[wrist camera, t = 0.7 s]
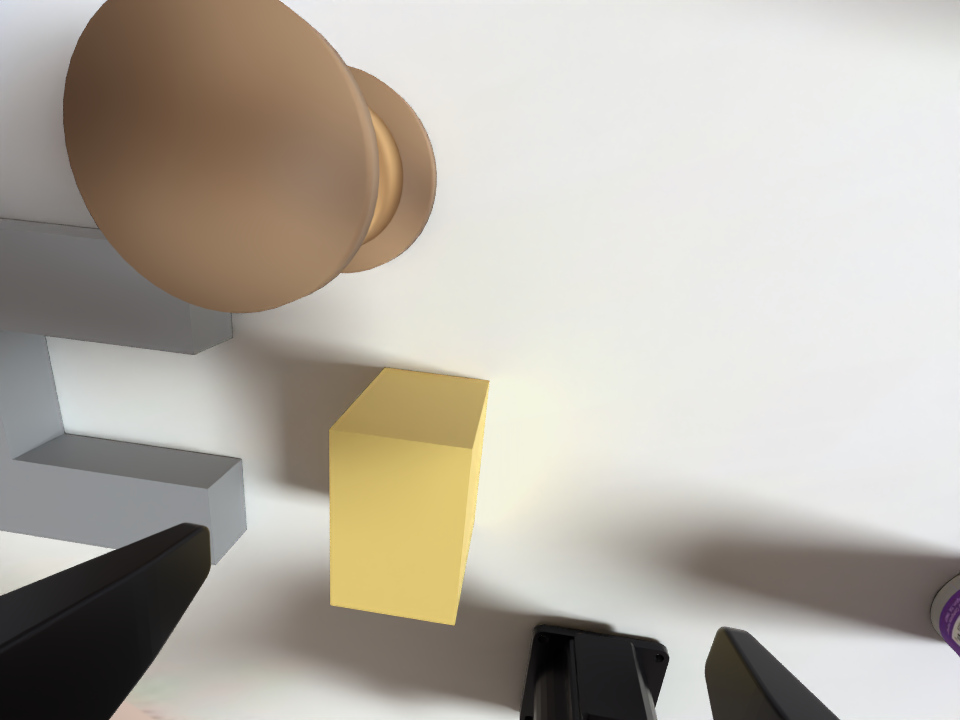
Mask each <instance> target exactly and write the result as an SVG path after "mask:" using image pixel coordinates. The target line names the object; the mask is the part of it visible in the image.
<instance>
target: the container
mask: <svg viewBox="0 0 960 720" xmlns="http://www.w3.org/2000/svg"><path fill="white" fill-rule="evenodd" d="M931 621H932V624H933V626H934V628H935V630H936V631H937V632H938V633H939V635H940V636H941V637H942V638H943V639H944V640H945V641H946V642H947V644H948V645H949V646H950V647H951V648H952V649H953V650H954V651H955V652H956V653H957V654H958V655H959V656H960V575H958V576H956V577H955V578H953V579H952V580H951V581H949V582H948V583H947V584H946V585H945V586H944V587H943V588H942V589H941V590H940V591H939V592H938V594H937V595H936V597H935V599H934V601H933V604H932V607H931Z"/></svg>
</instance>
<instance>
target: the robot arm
mask: <svg viewBox="0 0 960 720" xmlns="http://www.w3.org/2000/svg"><path fill="white" fill-rule="evenodd" d="M210 567H211V546H210V531H209V529H208V527H206V526H204V525H200V524H194V523H189V522H185V523H181V524H178V525H176V526H173V527H171V528H168V529H166V530H163V531H161V532H158V533H156V534H153V535H151V536H148V537H146V538H143V539H141V540H139V541H136V542H134V543H131V544H129V545H126V546H124V547H121V548H119V549H116V550H114V551H111V552H109V553H106V554H104V555H101V556H99V557H96V558H94V559H91V560H89V561H86V562H84V563H81V564H79V565H76V566H74V567H71V568H69V569H66V570H64V571H61V572H59V573H56V574H54V575H52V576H49V577H47V578H44V579H42V580H39V581H37V582H34V583H32V584H29V585H27V586H24V587H22V588H19V589H17V590H14V591H12V592H9V593H7V594H4V595H2V596H0V720H109V719H110V718H111V716H112V715H113V714H114V713H115V711H116V710H117V709H118V707H119V706H120V705H121V704H122V702H123V701H124V700H125V698H126V697H127V696H128V694H129V693H130V692H131V690H132V689H133V688H134V686H135V685H136V684H137V683H138V681H139V680H140V679H141V677H142V676H143V675H144V673H145V672H146V670H147V669H148V668H149V666H150V665H151V664H152V662H153V661H154V659H155V658H156V656H157V655H158V653H159V652H160V650H161V649H162V647H163V646H164V644H165V643H166V641H167V640H168V638H169V636H170V635H171V633H172V632H173V630H174V628H175V627H176V625H177V624H178V622H179V621H180V619H181V617H182V616H183V614H184V613H185V611H186V610H187V608H188V606H189V605H190V603H191V602H192V600H193V598H194V597H195V595H196V594H197V592H198V591H199V589H200V587H201V586H202V584H203V583H204V581H205V579H206V578H207V576H208V574H209V571H210ZM542 635H545V636H542ZM657 654H659V655H657ZM668 662H669V655H668V651H667V649H666V647H665V646H664V645H662V644H659V643H654V642H648V641H642V640H635V639H629V638H623V637H617V636H611V635H605V634H599V633H592V632H586V631H580V630H574V629H568V628H562V627H556V626H549V625H538V626H536V627H535V628H534V630H533V636H532V641H531V647H530V653H529V659H528V665H527V671H526V677H525V683H524V689H523V694H522V700H521V706H520V720H657V715H656V711H655V706H656V703H657V700H658V696H659V693H660V690H661V686H662V683H663V679H664V676H665V673H666V669H667V666H668ZM705 679H706V684H707V689H708V694H709V699H710V705H711V710H712V715H713V720H840V719H839V718H838V717H837V716H836V715H835V714H833V713H832V712H831V711H830V710H829V709H828V708H827V707H826V706H825V705H824V704H823V703H822V702H821V701H820V700H819V699H818V698H817V697H816V696H815V695H814V694H813V693H811V692H810V691H809V690H808V689H807V688H806V687H805V686H804V685H803V684H802V683H801V682H800V681H799V680H798V679H797V678H796V677H795V676H794V675H793V674H792V673H791V672H790V671H788V670H787V669H786V668H785V667H784V666H783V665H782V664H781V663H780V662H779V661H778V660H777V659H776V658H775V657H774V656H773V655H772V654H771V653H770V652H769V651H768V650H767V649H765V648H764V647H763V646H762V645H761V644H760V643H759V642H758V641H757V640H756V639H755V638H754V637H753V636H752V635H751V634H749V633H748V632H747V631H744V630H740V629H735V628H730V627H721V628H719V629H718V631H717V633H716V635H715V638H714V641H713V644H712V646H711V649H710V652H709V655H708V658H707V660H706V664H705Z"/></svg>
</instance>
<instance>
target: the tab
mask: <svg viewBox="0 0 960 720" xmlns="http://www.w3.org/2000/svg"><path fill="white" fill-rule="evenodd" d="M488 390H489V381H488V380H480V379H472V378H464V377H456V376H448V375H440V374H433V373H425V372H417V371H409V370H401V369H393V368H386V367H385V368H384V369H383V370H382V371H381V372H380V374H379V375H378V376H377V377H376V378H375V379H374V380H373V381H372V382H371V384H370V385H369V386H368V387H367V388H366V389H365V390H364V391H363V392H362V394H361V395H360V396H359V397H358V398H357V399H356V400H355V401H354V402H353V404H352V405H351V406H350V407H349V408H348V409H347V410H346V411H345V412H344V414H343V415H342V416H341V417H340V418H339V419H338V420H337V421H336V422H335V424H334V425H333V426H332V427H331V428H330V429H329V478H330V605H332V606H338V607H344V608H351V609H357V610H363V611H369V612H375V613H381V614H387V615H393V616H399V617H405V618H411V619H418V620H424V621H430V622H436V623H442V624H448V625H454V626H455V621H456V616H457V610H458V605H459V600H460V594H461V589H462V584H463V578H464V573H465V568H466V562H467V557H468V552H469V546H470V541H471V536H472V530H473V525H474V519H475V510H476V501H477V492H478V482H479V473H480V464H481V455H482V445H483V436H484V427H485V418H486V408H487V399H488Z"/></svg>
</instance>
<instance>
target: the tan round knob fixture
mask: <svg viewBox="0 0 960 720" xmlns="http://www.w3.org/2000/svg"><path fill="white" fill-rule="evenodd" d="M63 124H64V133H65V142H66V148H67V152H68V157H69V161H70V166H71V169H72V172H73V175H74V178H75V181H76V184H77V187H78V189H79V191H80V193H81V196H82V198H83V200H84V202H85V205H86V207H87V209H88V210H89V212H90V214H91V216H92V217H93V219H94V221H95V223H96V224H97V226H98V227H99V229H100V230H101V232H102V233H103V234H104V236H105V237H106V239H107V240H108V241H109V243H110V244H111V245H112V246H113V248H114V249H115V250H116V251H117V252H118V253H119V254H120V256H121V257H122V258H123V259H124V260H125V261H126V262H127V263H128V264H129V265H130V266H132V267H133V268H134V269H135V270H136V271H137V272H138V273H139V274H140V275H142V276H143V277H144V278H146V279H147V280H148V281H150V282H151V283H152V284H154V285H155V286H157V287H158V288H160V289H162V290H163V291H165V292H167V293H168V294H170V295H172V296H174V297H176V298H178V299H181V300H183V301H185V302H187V303H190V304H193V305H196V306H199V307H202V308H205V309H210V310H215V311H220V312H229V313H250V312H260V311H265V310H269V309H274V308H277V307H280V306H282V305H285V304H287V303H290V302H293V301H295V300H297V299H300V298H302V297H305V296H307V295H309V294H312V293H313V292H315V291H317V290H319V289H320V288H322V287H324V286H325V285H327V284H328V283H329V282H330V281H332V280H333V279H334V278H335V277H337V276H338V275H339V274H340V273H353V272H361V271H365V270H369V269H372V268H375V267H377V266H380V265H382V264H385V263H387V262H389V261H391V260H393V259H394V258H396V257H398V256H399V255H400V254H402V253H403V252H404V251H406V250H407V249H408V248H409V247H410V246H411V245H412V244H413V243H414V242H415V240H416V239H417V238H418V236H419V235H420V234H421V232H422V231H423V229H424V227H425V225H426V223H427V221H428V219H429V216H430V214H431V211H432V208H433V204H434V200H435V194H436V186H437V172H436V164H435V157H434V153H433V149H432V145H431V142H430V140H429V137H428V134H427V132H426V130H425V128H424V126H423V124H422V122H421V121H420V119H419V118H418V116H417V115H416V113H415V112H414V110H413V109H412V108H411V107H410V106H409V104H408V103H407V102H406V101H405V100H404V99H403V98H402V97H401V96H400V95H398V94H397V93H396V92H395V91H394V90H393V89H391V88H390V87H389V86H388V85H386V84H385V83H383V82H382V81H380V80H379V79H377V78H376V77H374V76H373V75H370V74H368V73H366V72H364V71H362V70H359V69H356V68H353V67H350V66H347V65H346V64H345V62H344V61H343V60H342V58H341V57H340V55H339V54H338V52H337V51H336V50H335V49H334V48H333V47H332V46H331V45H330V43H329V42H328V41H327V40H326V39H325V38H324V37H323V36H322V35H321V34H320V33H319V32H318V31H317V30H316V29H314V28H313V27H312V26H311V25H310V24H309V23H307V22H306V21H305V20H304V19H303V18H301V17H300V16H299V15H298V14H296V13H295V12H294V11H292V10H291V9H290V8H289V7H287V6H286V5H285V4H284V3H282V2H281V1H279V0H107V1H106V2H105V3H104V4H103V5H102V6H101V7H100V8H99V10H98V11H97V12H96V13H95V15H94V16H93V17H92V18H91V19H90V21H89V22H88V24H87V26H86V28H85V29H84V31H83V33H82V34H81V36H80V38H79V40H78V42H77V45H76V47H75V50H74V52H73V55H72V57H71V61H70V65H69V69H68V73H67V77H66V83H65V91H64V99H63Z"/></svg>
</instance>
